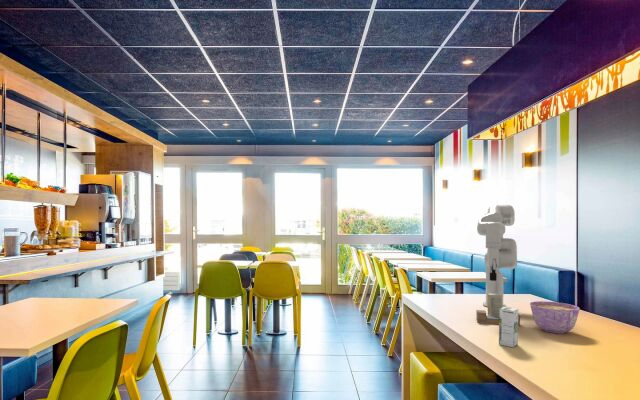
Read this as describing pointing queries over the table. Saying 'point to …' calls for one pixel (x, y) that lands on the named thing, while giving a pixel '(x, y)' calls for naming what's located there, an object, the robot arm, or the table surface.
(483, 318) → the walnut cradle
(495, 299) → the skincare box
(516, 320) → the syrup box
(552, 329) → the bowl of food
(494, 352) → the table surface
